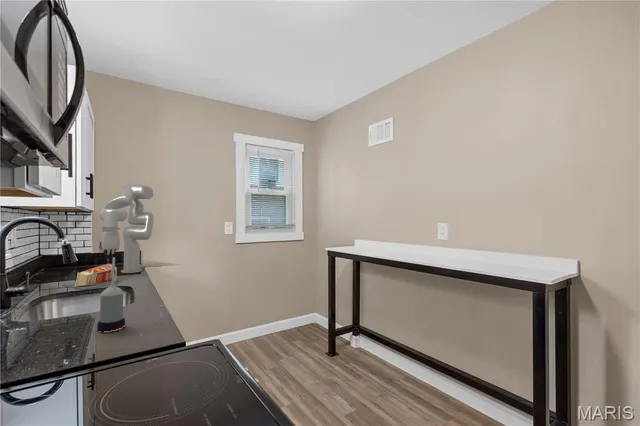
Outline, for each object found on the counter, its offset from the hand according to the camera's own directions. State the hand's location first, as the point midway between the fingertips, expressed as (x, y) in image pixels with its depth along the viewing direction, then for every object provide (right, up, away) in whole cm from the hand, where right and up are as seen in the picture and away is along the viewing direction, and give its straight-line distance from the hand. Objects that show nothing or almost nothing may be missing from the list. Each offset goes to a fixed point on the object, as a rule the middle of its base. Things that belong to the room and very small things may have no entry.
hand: (109, 260), depth 185 cm
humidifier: (+52, -12, -76) cm, 93 cm away
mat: (-5, -12, -9) cm, 16 cm away
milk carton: (+2, -6, -1) cm, 6 cm away
